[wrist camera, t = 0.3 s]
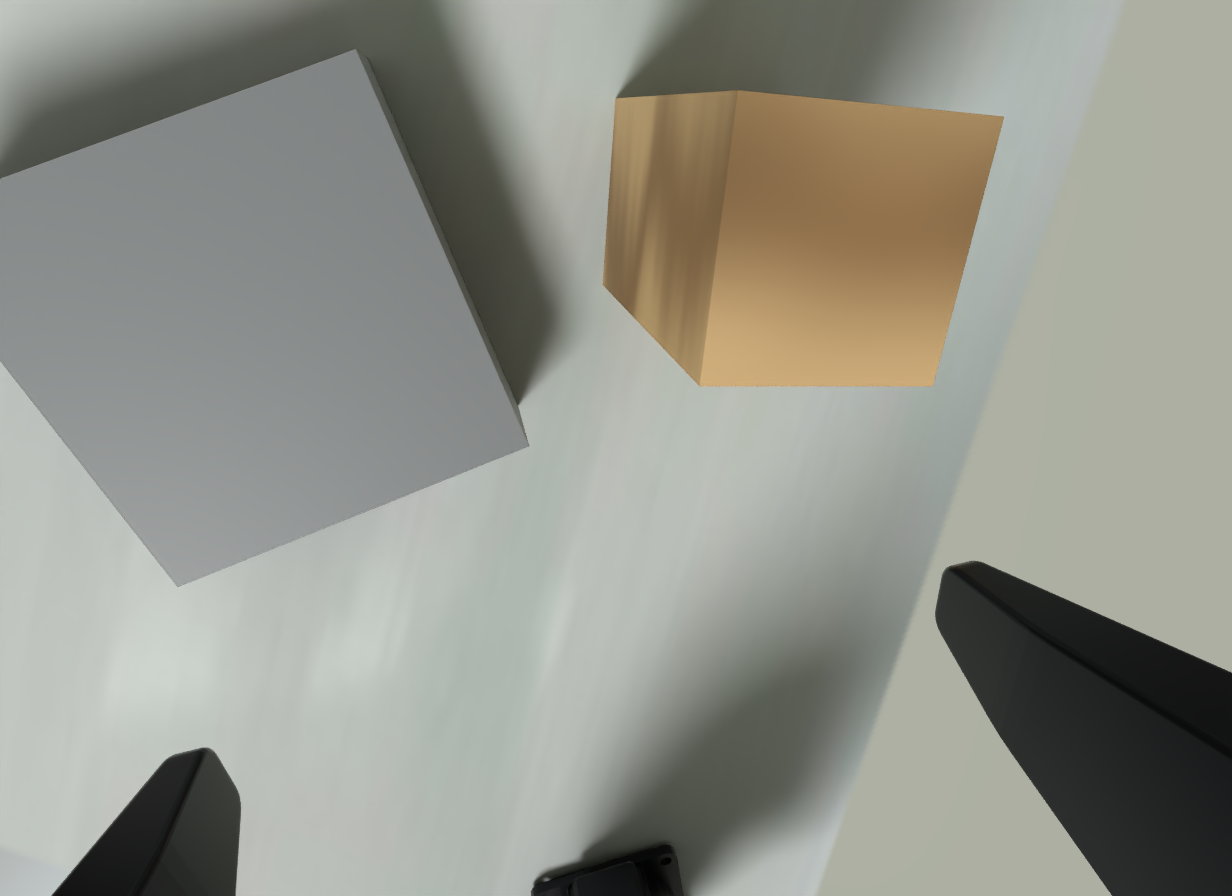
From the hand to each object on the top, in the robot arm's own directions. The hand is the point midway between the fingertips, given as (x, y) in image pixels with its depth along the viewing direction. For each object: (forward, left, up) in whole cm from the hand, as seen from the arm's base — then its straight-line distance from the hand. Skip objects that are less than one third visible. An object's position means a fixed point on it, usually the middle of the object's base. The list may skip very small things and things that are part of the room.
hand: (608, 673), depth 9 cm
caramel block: (+3, -6, -15) cm, 16 cm away
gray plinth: (+2, +6, -15) cm, 16 cm away
